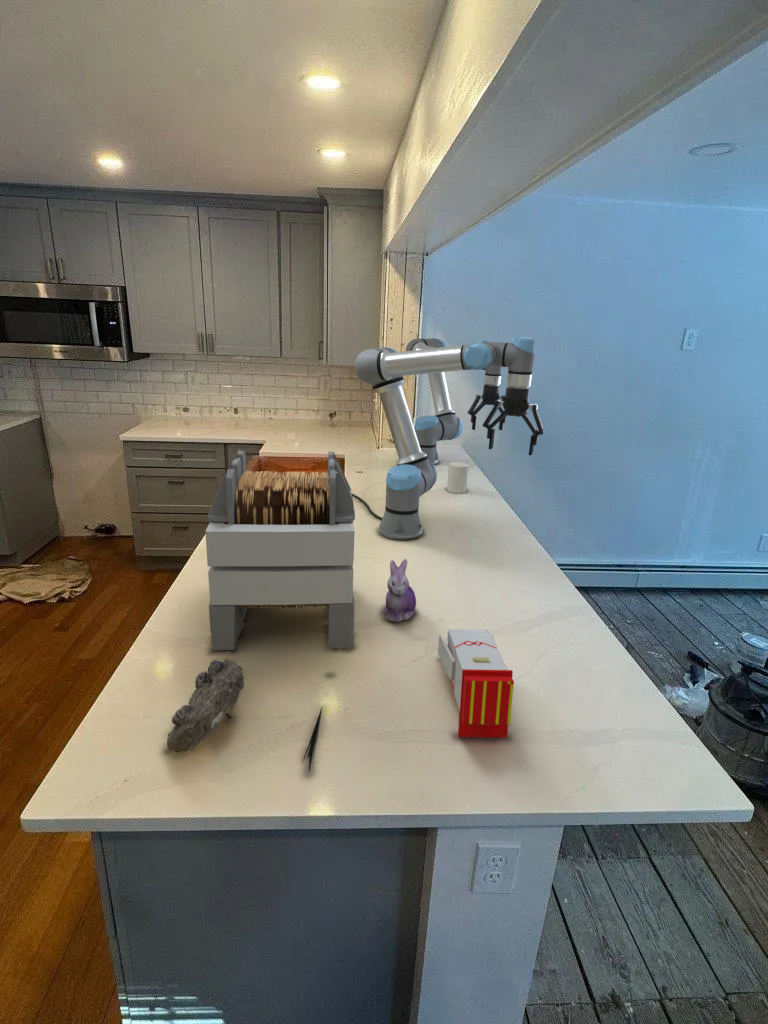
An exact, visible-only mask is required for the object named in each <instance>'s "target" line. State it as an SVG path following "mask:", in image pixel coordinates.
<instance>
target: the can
mask: <svg viewBox="0 0 768 1024" xmlns="http://www.w3.org/2000/svg"><path fill="white" fill-rule="evenodd" d="M447 471H448V472H447V483H446V491H447V492H449V493H453V494H464V493H466V492H467V487H468V476H469V464H468V463H466V462H463V461H451V462H449V463H448V470H447Z"/></svg>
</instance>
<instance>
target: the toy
mask: <svg viewBox="0 0 768 1024" xmlns="http://www.w3.org/2000/svg"><path fill="white" fill-rule="evenodd" d="M446 640H447V643H446V641H445V639H444V636H443V635H442V634H439V637H438V646H437V656H438V657H439V659H440V661H441V663H442V666H443V668H444V670H445V672H446V674H447V677H448V679H449V681H450V684H451V687H452V690H453V693H454V697H455V701H456V705H457V708H458V711H459V714H458V715H459V716H458V730H457V731H458V732H457V737H458V738H508V731H509V726H510V725H511V717H512V707H513V697H514V696H513V695H514V684H515V680H514V679H513V673H514V671H513V670H512V669H508V667H507V665H506V662H505V661H504V659H503V658H502V655H501V653H500V651H499V649H498V647H497V643H496V639H495V637H494V635H493V634H491V632H490V631H489V629H467V628H466V629H465V628H463V629H461V628H460V629H459V628H448V630H447V639H446Z"/></svg>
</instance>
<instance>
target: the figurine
mask: <svg viewBox="0 0 768 1024" xmlns="http://www.w3.org/2000/svg"><path fill="white" fill-rule="evenodd" d="M407 567H408V559H406V558H404V559H403V560H402V561H401V563H400V565H399V566H398V565H397V563H396V562H395V561H394V560H393V559H391V560H390V561H389V570H390V576H389V578H388V579H387V589H388V591H387V592H386V594H385V595H386V596H385V607H384V615H385V616H386V620H387V621H391V622H395V623H400V622H402V621H406V620H409V619H410V618H411V617H413V616H414V615H415V610H416V606H417V597H416V593H415V591H414V590H413V587H411V586H410V582H409V579H408V577H407V574H406V571H407Z"/></svg>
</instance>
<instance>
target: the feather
mask: <svg viewBox="0 0 768 1024" xmlns="http://www.w3.org/2000/svg"><path fill="white" fill-rule="evenodd" d="M329 675H330V676H331V675H332V674H331V673H330V674H329ZM322 710H323V707H321V708H320V710H319V713H318V716H317V719H316V723H315V725H314V728H313V731H312V733H311V737H310V739H309V742H308V745H307V748H306V751H305V754H304V757H303V760H302V763H301V767H302V765H303V763H304V761H305V758H308V759H309V760H308V762H307V763H308V764H307V766H308V771H310V770H311V766H312V765H311V764H312V760H313V757H315V756H314V755H315V751H316V749H315V746H317V739H318V733H319V729H320V722H321V717H322V712H323V711H322ZM313 754H314V755H313ZM306 755H307V757H306Z"/></svg>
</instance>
